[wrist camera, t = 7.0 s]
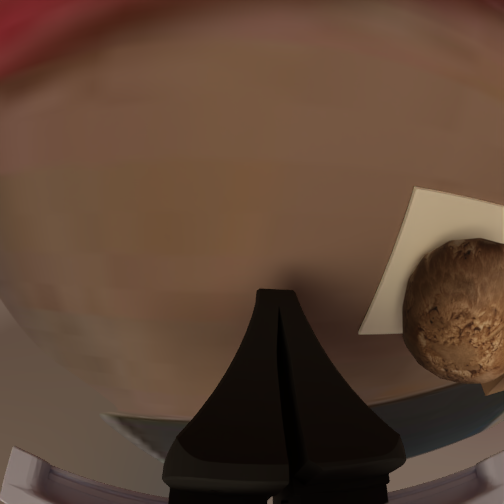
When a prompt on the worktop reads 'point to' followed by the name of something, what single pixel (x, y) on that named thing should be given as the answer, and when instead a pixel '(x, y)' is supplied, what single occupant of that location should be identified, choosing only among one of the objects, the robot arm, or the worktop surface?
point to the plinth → (494, 385)
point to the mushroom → (457, 311)
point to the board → (427, 247)
